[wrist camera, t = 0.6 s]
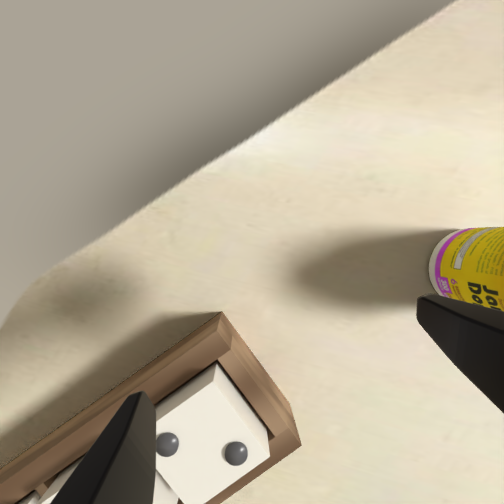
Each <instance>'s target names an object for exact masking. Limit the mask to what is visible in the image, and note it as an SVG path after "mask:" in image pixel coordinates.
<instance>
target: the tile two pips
mask: <svg viewBox="0 0 504 504" xmlns="http://www.w3.org/2000/svg"><path fill="white" fill-rule="evenodd" d="M154 407H155V410H156V469H157V470H158V472H159V473H160V474H161V475H162V477H163V478H164V479H165V480H166V482H167V483H168V484H169V486H170V487H171V488H172V489H173V491H174V492H175V493H176V494H177V496H178V497H179V498H180V499H181V501H182V502H183V503H184V504H204V503H206V502H207V501H209V500H210V499H211V498H213V497H214V496H216V495H217V494H218V493H220V492H221V491H223V490H224V489H225V488H227V487H228V486H230V485H231V484H232V483H234V482H235V481H237V480H238V479H240V478H241V477H242V476H244V475H245V474H247V473H248V472H249V471H251V470H252V469H254V468H255V467H256V466H258V465H259V464H261V463H262V462H263V461H265V460H266V459H268V458H269V457H270V452H269V444H268V437H267V429H266V426H265V425H264V424H263V422H262V421H261V419H260V418H259V417H258V415H257V414H256V413H255V411H254V410H253V409H252V407H251V406H250V405H249V403H248V402H247V401H246V399H245V398H244V397H243V395H242V394H241V393H240V391H239V390H238V389H237V387H236V386H235V385H234V383H233V382H232V381H231V379H230V378H229V377H228V375H227V374H226V373H225V371H224V370H223V369H222V367H221V366H220V365H219V363H218V362H216V363H214V364H213V365H212V366H210V367H209V368H207V369H206V370H205V371H203V372H202V373H200V374H199V375H198V376H196V377H195V378H193V379H192V380H190V381H189V382H188V383H186V384H185V385H183V386H182V387H181V388H179V389H178V390H176V391H175V392H174V393H172V394H171V395H169V396H168V397H167V398H165V399H164V400H162V401H161V402H160V403H158V404H157V405H155V406H154Z"/></svg>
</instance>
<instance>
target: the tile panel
mask: <svg viewBox="0 0 504 504" xmlns="http://www.w3.org/2000/svg"><path fill="white" fill-rule="evenodd" d="M216 362H218V363H219V365H220V366H221V367H222V369H223V370H224V371H225V373H226V374H227V375H228V377H229V378H230V379H231V381H232V382H233V383H234V385H235V386H236V387H237V389H238V390H239V391H240V393H241V394H242V395H243V397H244V398H245V399H246V401H247V402H248V403H249V405H250V406H251V407H252V409H253V410H254V411H255V413H256V414H257V415H258V417H259V418H260V419H261V421H262V422H263V424H264V425H265V426H266V429H267V437H268V444H269V452H270V457H269V458H268V459H266V460H265V461H263V462H262V463H261V464H259V465H258V466H256V467H255V468H254V469H252V470H251V471H249V472H248V473H247V474H245V475H244V476H242V477H241V478H240V479H238V480H237V481H235V482H234V483H232V484H231V485H230V486H228V487H227V488H225V489H224V490H223V491H221V492H220V493H218V494H217V495H216V496H214V497H213V498H211V499H210V500H209V501H207V502H206V503H204V504H220V503H222V502H223V501H224V500H226V499H227V498H229V497H230V496H231V495H233V494H234V493H236V492H237V491H238V490H240V489H241V488H243V487H244V486H245V485H247V484H248V483H250V482H251V481H252V480H254V479H255V478H257V477H258V476H259V475H261V474H262V473H264V472H265V471H266V470H268V469H269V468H271V467H272V466H273V465H275V464H276V463H278V462H279V461H281V460H282V459H283V458H285V457H286V456H288V455H289V454H290V453H292V452H293V451H295V450H296V449H297V448H299V447H300V446H302V445H301V441H300V438H299V434H298V431H297V427H296V424H295V420H294V417H293V414H292V410H291V407H290V404H289V402H288V401H287V399H286V398H285V397H284V395H283V394H282V393H281V391H280V390H279V388H278V387H277V386H276V384H275V383H274V382H273V380H272V379H271V378H270V376H269V375H268V373H267V372H266V371H265V369H264V368H263V367H262V365H261V364H260V363H259V361H258V360H257V358H256V357H255V356H254V354H253V353H252V352H251V350H250V349H249V348H248V346H247V345H246V343H245V342H244V341H243V339H242V338H241V337H240V335H239V334H238V333H237V331H236V330H235V328H234V327H233V326H232V324H231V323H230V322H229V320H228V319H227V318H226V316H225V315H224V313H223V312H221V313H219V314H218V315H216V316H215V317H214V318H212V319H211V320H209V321H208V322H207V323H205V324H204V325H202V326H201V327H200V328H198V329H197V330H195V331H194V332H193V333H191V334H190V335H188V336H187V337H185V338H184V339H183V340H181V341H180V342H178V343H177V344H176V345H174V346H173V347H171V348H170V349H169V350H167V351H166V352H164V353H163V354H162V355H160V356H159V357H157V358H156V359H155V360H153V361H152V362H150V363H149V364H148V365H146V366H145V367H143V368H142V369H140V370H139V371H138V372H136V373H135V374H133V375H132V376H131V377H129V378H128V379H126V380H125V381H124V382H122V383H121V384H119V385H118V386H117V387H115V388H114V389H112V390H111V391H110V392H108V393H107V394H105V395H104V396H102V397H101V398H100V399H98V400H97V401H95V402H94V403H93V404H91V405H90V406H88V407H87V408H86V409H84V410H83V411H81V412H80V413H79V414H77V415H76V416H74V417H73V418H72V419H70V420H69V421H67V422H66V423H65V424H63V425H62V426H60V427H59V428H57V429H56V430H55V431H53V432H52V433H50V434H49V435H48V436H46V437H45V438H43V439H42V440H41V441H39V442H38V443H36V444H35V445H34V446H32V447H31V448H29V449H28V450H27V451H25V452H24V453H22V454H21V455H20V456H18V457H17V458H15V459H14V460H12V461H11V462H10V463H8V464H7V465H5V466H4V467H3V468H1V469H0V504H18V503H19V502H20V501H22V500H23V499H25V498H26V497H27V496H29V495H30V494H32V493H33V492H34V491H37V492H38V493H39V495H40V496H41V497H42V496H43V495H44V493H45V492H46V491H47V490H48V488H49V487H50V486H51V484H52V483H53V482H54V481H55V479H56V478H57V477H58V475H59V474H60V473H61V472H63V471H64V470H65V469H67V468H68V467H70V466H71V465H72V464H74V463H75V462H77V461H78V460H79V459H81V458H82V457H84V456H85V454H86V453H87V452H88V450H89V449H90V448H91V446H92V445H93V443H94V442H95V441H96V439H97V438H98V436H99V435H100V434H101V432H102V431H103V430H104V428H105V427H106V425H107V424H108V423H109V421H110V420H111V419H112V417H113V416H114V414H115V413H116V412H117V410H118V409H119V408H120V406H121V405H122V403H123V402H124V401H125V399H126V398H127V397H128V396H129V395H130V394H132V393H135V392H138V391H142V390H143V391H145V392H146V394H147V395H148V397H149V398H150V400H151V402H152V403H153V405H154V406H155V405H157V404H158V403H160V402H161V401H162V400H164V399H165V398H167V397H168V396H169V395H171V394H172V393H174V392H175V391H176V390H178V389H179V388H181V387H182V386H183V385H185V384H186V383H188V382H189V381H190V380H192V379H193V378H195V377H196V376H198V375H199V374H200V373H202V372H203V371H205V370H206V369H207V368H209V367H210V366H212V365H213V364H214V363H216ZM177 504H184V503H183V502H182V501H181V499H180V498H178V502H177Z"/></svg>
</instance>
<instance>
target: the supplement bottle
mask: <svg viewBox="0 0 504 504" xmlns="http://www.w3.org/2000/svg"><path fill="white" fill-rule="evenodd" d="M429 276H430V280H431V283H432V285H433V287H434V289H435V290H436V292H437V293H438V294H439V295H440V296H444V297H448V298H452V299H456V300H460V301H464V302H468V303H472V304H476V305H480V306H484V307H488V308H492V309H496V310H500V311H504V227H486V228H468V229H461V230H458V231H455V232H452V233H451V234H449V235H447V236H446V237H444V238H443V239H442V240H441V241H440V242H439V243H438V244H437V246H436V247H435V249H434V251H433V253H432V255H431V258H430V262H429Z"/></svg>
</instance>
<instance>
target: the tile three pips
mask: <svg viewBox="0 0 504 504" xmlns="http://www.w3.org/2000/svg"><path fill="white" fill-rule="evenodd" d="M82 459H83V457H82V458H81V459H79V460H78V461H77V462H75V463H74V464H72V465H71V466H70V467H68V468H67V469H65V470H64V471H63V472H61V473H60V474H59V475H58V477H57V478H56V479H55V481H54V482H53V483H52V484H51V486H50V487H49V488H48V490H47V491H46V492H45V493H44V495H43V496H42V497H41V499H40V500H39V501H38V502H37V504H50V503H51V501H52V500H53V499H54V497H55V496H56V494H57V493H58V492H59V490H60V489H61V488H62V486H63V485H64V483H65V482H66V481H67V479H68V478H69V476H70V475H71V474H72V472H73V471H74V470H75V468H76V467H77V465H78V464H79V463H80V461H81V460H82ZM178 498H179V497H178V496H177V494H176V493H175V492H174V491H173V489H172V488H171V487H170V486H169V484H168V483H167V482H166V480H165V479H164V478H163V477H162V475H161V474H160V473H159V472H158V470H157V469H156V476H155V487H154V497H153V504H177V502H178Z"/></svg>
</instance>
